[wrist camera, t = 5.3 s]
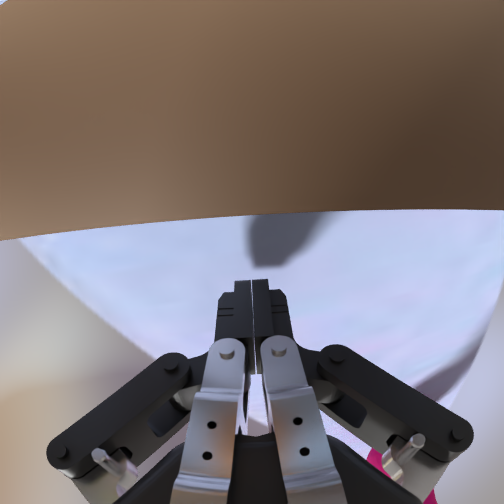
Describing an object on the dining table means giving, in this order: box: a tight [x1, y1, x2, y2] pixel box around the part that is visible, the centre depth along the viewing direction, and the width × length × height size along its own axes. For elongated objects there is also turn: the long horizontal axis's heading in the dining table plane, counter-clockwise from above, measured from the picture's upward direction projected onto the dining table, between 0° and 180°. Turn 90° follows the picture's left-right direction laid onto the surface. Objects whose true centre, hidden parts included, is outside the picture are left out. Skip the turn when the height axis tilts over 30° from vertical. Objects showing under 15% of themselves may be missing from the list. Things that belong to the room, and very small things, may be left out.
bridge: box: [0, 0, 504, 241], centre depth 6 cm, size 3×15×10 cm, turn 93°
